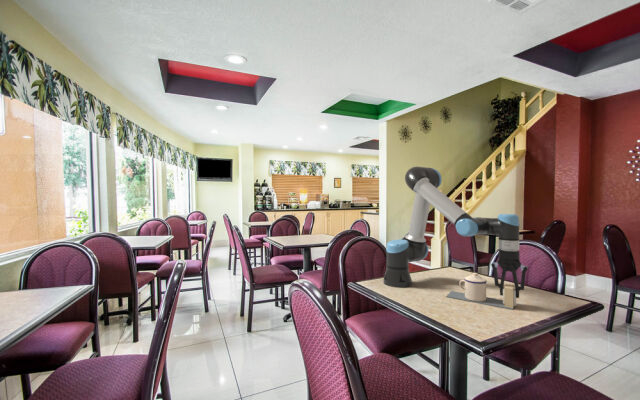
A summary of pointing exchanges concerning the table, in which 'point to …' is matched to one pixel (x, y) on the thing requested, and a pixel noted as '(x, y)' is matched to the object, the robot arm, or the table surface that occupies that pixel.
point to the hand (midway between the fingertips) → (509, 304)
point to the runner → (491, 301)
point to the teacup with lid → (474, 288)
